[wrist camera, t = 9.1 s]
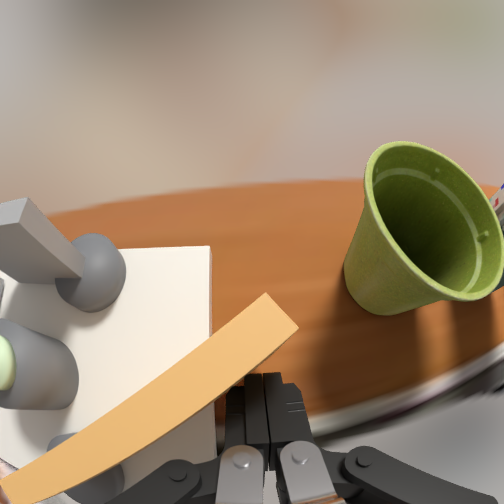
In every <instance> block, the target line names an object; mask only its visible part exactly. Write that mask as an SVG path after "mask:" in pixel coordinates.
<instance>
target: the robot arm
mask: <svg viewBox="0 0 504 504" xmlns="http://www.w3.org/2000/svg"><path fill="white" fill-rule="evenodd" d="M268 462H269V471H274V470H275V471H276V479H277V482H276V488H277V493H278V497H279V502H280V504H498V502H497V500H496V499H495V498H494V497H493V496H490V495H486V494H483V493H479V492H476V491H473V490H470V489H467V488H464V487H461V486H458V485H456V484H453V483H450V482H448V481H445V480H443V479H440V478H438V477H435V476H432V475H430V474H428V473H426V472H423V471H421V470H419V469H416V468H414V467H412V466H410V465H408V464H405V463H403V462H401V461H399V460H397V459H395V458H393V457H391V456H389V455H387V454H385V453H383V452H381V451H379V450H377V449H375V448H373V447H369V446H360V447H356V448H354V449H352V450H351V451H350V452H349V453H339V452H330V451H326V450H324V449H322V448H320V447H319V446H318V445H317V444H316V443H315V442H314V440H313V437H312V433H311V429H310V425H309V421H308V418H307V414H306V410H305V406H304V403H303V398H302V394H301V391H300V390H299V389H298V387H297V386H296V385H295V384H294V383H287V384H283V382H282V377H281V373H280V372H274V373H263V376H262V374H261V373H258V374H247V375H246V376H245V377H244V386H232V387H231V388H230V390H229V392H228V393H227V395H226V420H225V447H224V450H223V451H222V453H221V454H220V455H219V456H218V457H216V458H215V459H213V460H211V461H207V462H203V463H199V464H193V463H191V462H189V461H187V460H182V459H174V460H170V461H167V462H166V463H164V464H163V465H161V466H160V467H159V468H157V469H156V470H154V471H153V472H152V473H150V474H149V475H147V476H146V477H145V478H143V479H142V480H140V481H139V482H137V483H136V484H134V485H133V486H131V487H130V488H128V489H127V490H125V491H124V492H122V493H121V494H119V495H118V496H116V497H114V498H113V499H111V500H110V501H108V502H106V503H105V504H263V487H264V477H265V471H268Z"/></svg>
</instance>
